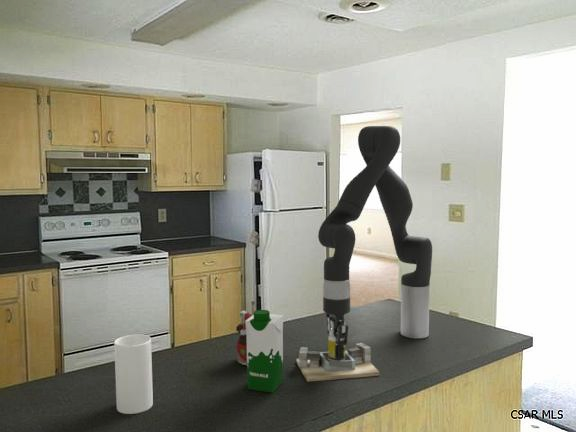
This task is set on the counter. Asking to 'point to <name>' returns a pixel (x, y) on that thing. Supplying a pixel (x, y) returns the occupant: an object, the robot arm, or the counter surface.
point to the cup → (133, 373)
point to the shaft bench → (336, 364)
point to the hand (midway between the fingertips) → (336, 354)
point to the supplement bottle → (333, 348)
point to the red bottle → (243, 336)
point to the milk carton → (264, 351)
